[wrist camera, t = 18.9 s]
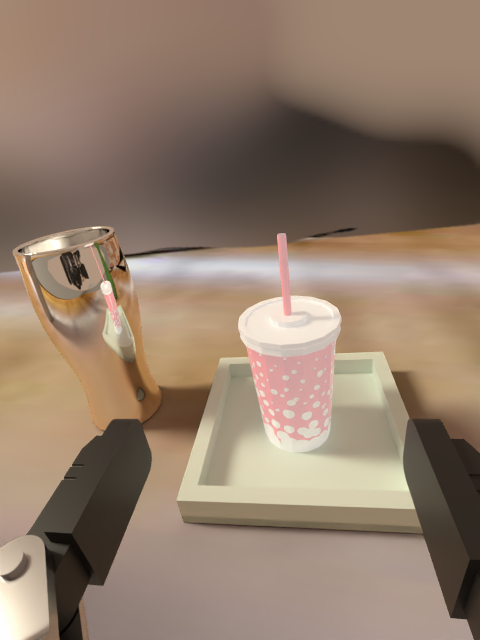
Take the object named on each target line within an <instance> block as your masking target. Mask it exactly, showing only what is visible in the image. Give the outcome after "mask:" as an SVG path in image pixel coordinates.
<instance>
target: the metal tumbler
mask: <svg viewBox="0 0 480 640" xmlns="http://www.w3.org/2000/svg"><path fill="white" fill-rule="evenodd" d="M13 254H14V257H15V259H16V262H17V265H18V267H19V270H20V273H21V276H22V279H23V282H24V285H25V288H26V290H27V293H28V296H29V298H30V300H31V303H32V305H33V308H34V310H35V312H36V314H37V316H38V318H39V320H40V322H41V324H42V326H43V328H44V330H45V331H46V333H47V334H48V336H49V337H50V339H51V341H52V342H53V344H54V345H55V347H56V348H57V349H58V351H59V352H60V354H61V355H62V356H63V358H64V359H65V360H66V362H67V363H68V365H69V366H70V367H71V369H72V370H73V371H74V373H75V374H76V376H77V377H78V379H79V380H80V382H81V384H82V386H83V388H84V391H85V394H86V397H87V401H88V406H89V412H90V417H91V420H92V422H93V424H94V425H95V426H96V427H97V428H98V429H100V430H103V431H105V430H106V428H107V426H108V425H109V423H110V422H111V421H112V420H113V419H138V420H139V421H140V423H143V422H144V421H146V420H147V419H149V418H150V417H151V416H152V415H153V414H154V413H155V412H156V411H157V409H158V408H159V406H160V404H161V400H162V395H161V391H160V389H159V387H158V385H157V383H156V382H155V380H154V378H153V376H152V375H151V373H150V371H149V368H148V365H147V362H146V358H145V353H144V345H143V336H142V326H141V317H140V310H139V304H138V298H137V294H136V291H135V287H134V283H133V280H132V277H131V274H130V271H129V268H128V265H127V263H126V260H125V257H124V255H123V252H122V250H121V247H120V245H119V243H118V240H117V237H116V234H115V231H114V229H113V228H112V227H107V226H99V227H98V226H97V227H87V228H80V229H75V230H69V231H64V232H60V233H56V234H52V235H48V236H44V237H41V238H38V239H35V240H32V241H29V242H27V243H24V244H22V245H20V246H18V247H17V248H15V249H14V250H13Z"/></svg>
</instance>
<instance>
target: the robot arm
mask: <svg viewBox="0 0 480 640" xmlns="http://www.w3.org/2000/svg"><path fill="white" fill-rule="evenodd" d="M151 461H152V456H151V450H150V448H149V445H148V442H147V439H146V436H145V434H144V431H143V428H142V425H141V423H140V421H139V420H138V419H113V420H112V421H111V422H110V423H109V425H108V426H107V428H106V430H105V431H104V433H103V435H102V436H96V437H95V438H94V439H92V440H91V441H90V442H89V443H88V444H87V445H86V446H85V447H84V448H83V449H82V450H81V451H80V453H79V455H78V456H77V458H76V459H75V461H74V462H73V464H72V467H70V469H69V470H68V472H67V473H66V475H65V476H64V480H62V481H61V483H60V484H59V486H58V487H57V489H56V490H55V492H54V493H53V495H52V497H51V498H50V500H49V501H48V503H47V504H46V506H45V507H44V509H43V511H42V512H41V514H40V515H39V517H38V518H37V520H36V521H35V523H34V525H33V526H32V528H31V529H30V530H29V532H28V533H27V534H26V536H22V537H18V538H16V539H14V540H12V541H10V542H9V543H7V544H6V545H4V546H3V547H2V548H1V549H0V640H89V637H88V630H87V623H86V616H85V609H84V603H83V600H82V596H83V594H84V592H85V589H86V587H87V585H88V584H90V585H101V586H103V585H104V582H105V580H106V578H107V575H108V573H109V570H110V568H111V565H112V563H113V560H114V558H115V555H116V553H117V550H118V548H119V546H120V543H121V541H122V538H123V536H124V533H125V531H126V528H127V526H128V523H129V521H130V519H131V516H132V514H133V511H134V509H135V506H136V504H137V501H138V499H139V496H140V494H141V491H142V489H143V487H144V484H145V482H146V479H147V477H148V474H149V472H150V468H151ZM403 468H404V474H405V478H406V482H407V485H408V488H409V491H410V494H411V497H412V500H413V503H414V506H415V510H416V513H417V516H418V519H419V522H420V525H421V528H422V531H423V534H424V537H425V540H426V544H427V547H428V550H429V553H430V556H431V559H432V562H433V565H434V568H435V571H436V575H437V578H438V581H439V584H440V587H441V590H442V593H443V596H444V599H445V602H446V606H447V609H448V612H449V615H450V618H457V619H467V621H468V624H469V627H470V629H471V632H472V635H473V638H474V640H480V453H479V452H477V451H476V450H475V449H474V448H473V447H472V446H471V445H470V444H469V443H468V442H466V441H465V440H464V439H450V437H449V435H448V433H447V431H446V429H445V427H444V425H443V423H442V422H441V420H439V419H409V420H408V422H407V429H406V436H405V444H404V451H403Z"/></svg>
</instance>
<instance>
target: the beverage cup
mask: <svg viewBox="0 0 480 640" xmlns="http://www.w3.org/2000/svg"><path fill="white" fill-rule="evenodd" d="M277 239H278V251H279V263H280V274H281V286H282V297H277V298H273V299H269V300H266V301H262V302H259V303H257V304H256V305H254V306H252V307H250V308H248V309H247V310H246V311H245V312H244V313H243V314H242V315H241V316H240V317H239V324H238V329H239V332H240V333H241V337H240V338H241V339H242V341H243V342H244V344H245V345H246V347H247V351H248V356H249V360H250V365H251V369H252V374H253V378H254V383H255V387H256V392H257V396H258V400H259V405H260V409H261V414H262V418H263V423H264V427H265V432H266V435H267V436H268V438H269V440H270V442H271V443H273V444H274V445H275V446H277V447H278V448H280V449H282V450H286V451H289V452H293V453H296V452H308V451H311V450H313V449H316V448H318V447H320V446H321V445H322V444H323V443H324V442H325V441H326V440H327V438H328V435H329V432H330V424H331V409H332V393H333V377H334V361H335V345H336V339H337V337H338V335H339V332H340V330H341V328H340V323H341V315H340V313H339V311H338V308H336V307H335V306H333V305H332V304H330V303H329V302H327V301H325V300H321V299H317V298H314V297H305V296H290V283H289V269H288V256H287V243H286V234H285V233H280V234H277Z"/></svg>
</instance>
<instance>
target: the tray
mask: <svg viewBox="0 0 480 640" xmlns="http://www.w3.org/2000/svg"><path fill="white" fill-rule="evenodd" d="M409 419H410V418H409V415H408V413H407V410H406V408H405V405H404V403H403V401H402V398H401V396H400V393H399V391H398V388H397V386H396V383H395V381H394V378H393V376H392V373H391V371H390V368H389V366H388V363H387V361H386V358H385V356H384V353H383V352H363V353H337V354H335V361H334V377H333V393H332V409H331V424H330V432H329V435H328V438H327V440H326V441H325V442H324V443H323V444H322V445H321V446H320V447H318V448H316V449H313V450H311V451H308V452H296V453H293V452H289V451H286V450H282V449H280V448H278V447H277V446H275V445H274V444H273V443H271V442H270V440H269V438H268V436H267V435H266V432H265V427H264V423H263V418H262V414H261V409H260V405H259V400H258V396H257V392H256V387H255V383H254V378H253V374H252V369H251V365H250V360H249V357H236V358H221V359H220V362H219V365H218V368H217V371H216V375H215V378H214V381H213V384H212V388H211V391H210V394H209V397H208V400H207V404H206V407H205V410H204V413H203V417H202V420H201V423H200V426H199V429H198V433H197V436H196V439H195V442H194V445H193V449H192V452H191V455H190V458H189V462H188V465H187V468H186V471H185V474H184V478H183V481H182V484H181V487H180V490H179V494H178V497H177V500H176V501H177V504H178V507H179V510H180V512H181V515H182V518H183V521H184V522H191V523H212V524H233V525H254V526H275V527H296V528H317V529H338V530H359V531H379V532H400V533H421V534H423V531H422V528H421V525H420V522H419V519H418V516H417V513H416V510H415V506H414V503H413V500H412V497H411V494H410V491H409V488H408V485H407V482H406V478H405V474H404V468H403V451H404V444H405V436H406V429H407V422H408V420H409Z"/></svg>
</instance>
